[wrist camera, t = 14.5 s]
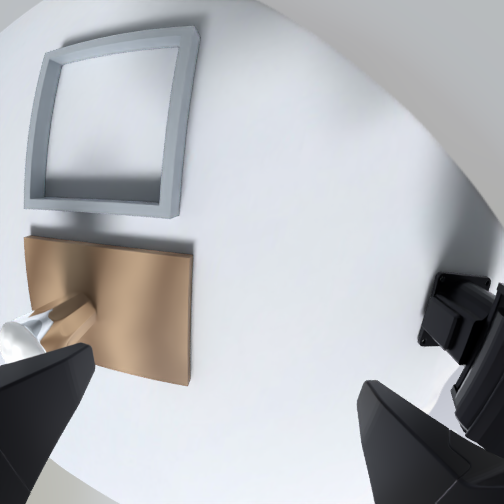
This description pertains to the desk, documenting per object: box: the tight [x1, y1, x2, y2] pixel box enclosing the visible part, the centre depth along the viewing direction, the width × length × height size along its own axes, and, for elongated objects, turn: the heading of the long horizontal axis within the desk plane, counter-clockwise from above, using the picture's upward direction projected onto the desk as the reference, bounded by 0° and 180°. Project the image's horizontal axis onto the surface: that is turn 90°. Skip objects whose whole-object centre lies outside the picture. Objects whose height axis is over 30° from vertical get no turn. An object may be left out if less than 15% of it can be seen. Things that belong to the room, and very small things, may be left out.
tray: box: [24, 26, 200, 219], centre depth 18 cm, size 14×14×2 cm
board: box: [24, 235, 193, 386], centre depth 22 cm, size 16×11×1 cm
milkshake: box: [0, 291, 97, 364], centre depth 17 cm, size 4×5×10 cm
